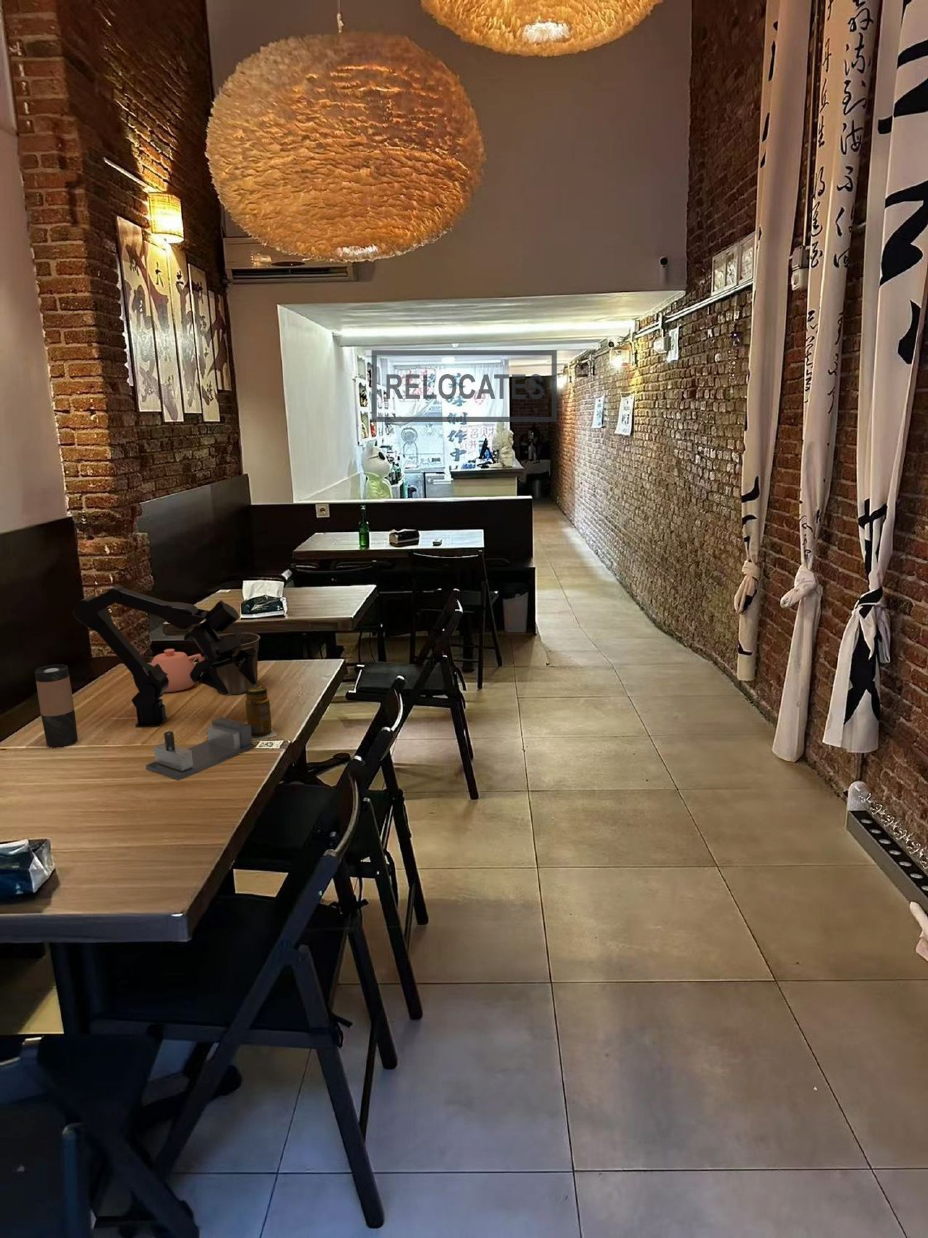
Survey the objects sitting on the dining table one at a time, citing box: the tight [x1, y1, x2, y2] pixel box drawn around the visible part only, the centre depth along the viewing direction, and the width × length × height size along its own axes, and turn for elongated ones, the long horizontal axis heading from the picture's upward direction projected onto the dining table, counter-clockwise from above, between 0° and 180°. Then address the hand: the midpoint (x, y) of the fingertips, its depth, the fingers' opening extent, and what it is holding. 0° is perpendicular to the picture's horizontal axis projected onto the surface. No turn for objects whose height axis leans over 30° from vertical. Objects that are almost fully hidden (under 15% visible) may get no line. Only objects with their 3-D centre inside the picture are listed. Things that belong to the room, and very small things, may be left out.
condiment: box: [245, 685, 278, 741], centre depth 202 cm, size 7×8×12 cm
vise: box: [145, 716, 255, 781], centre depth 187 cm, size 22×12×6 cm, turn 146°
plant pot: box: [216, 632, 261, 695], centre depth 239 cm, size 16×16×16 cm
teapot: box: [149, 648, 206, 693], centre depth 243 cm, size 22×15×12 cm
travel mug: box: [34, 664, 78, 749], centre depth 198 cm, size 8×8×20 cm
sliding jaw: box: [153, 730, 193, 771], centre depth 181 cm, size 3×10×8 cm, turn 56°
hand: (241, 688), depth 204 cm, fingers open, 9 cm apart
